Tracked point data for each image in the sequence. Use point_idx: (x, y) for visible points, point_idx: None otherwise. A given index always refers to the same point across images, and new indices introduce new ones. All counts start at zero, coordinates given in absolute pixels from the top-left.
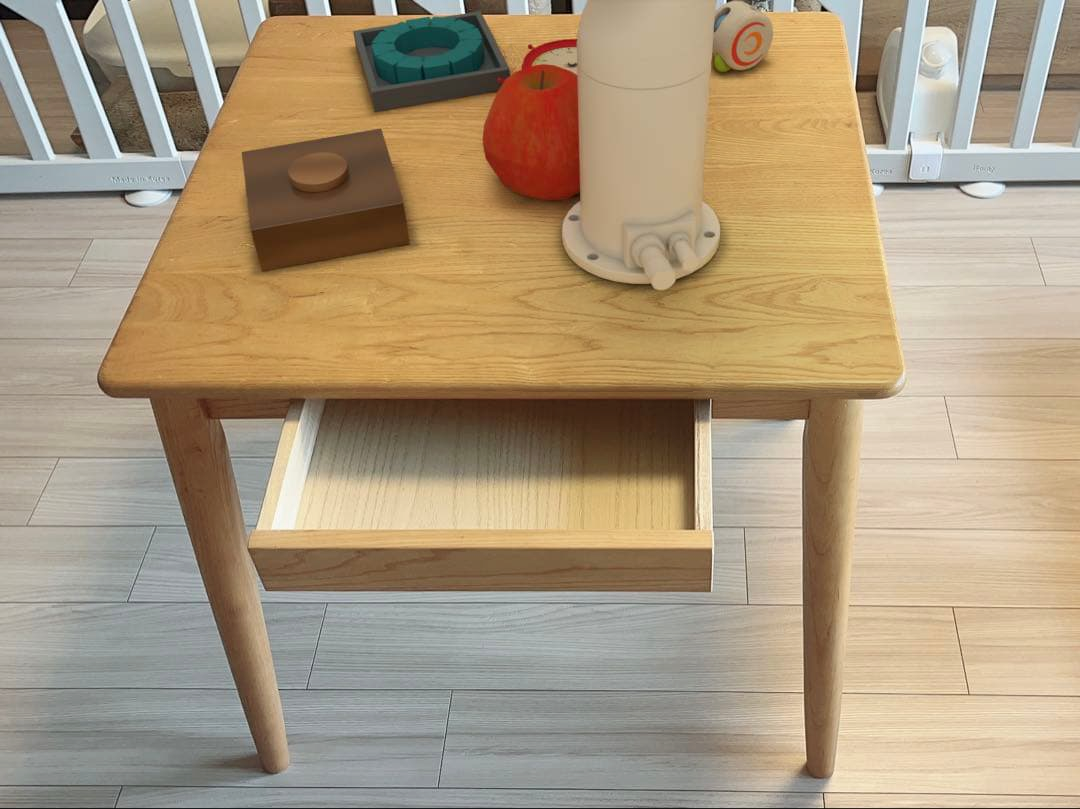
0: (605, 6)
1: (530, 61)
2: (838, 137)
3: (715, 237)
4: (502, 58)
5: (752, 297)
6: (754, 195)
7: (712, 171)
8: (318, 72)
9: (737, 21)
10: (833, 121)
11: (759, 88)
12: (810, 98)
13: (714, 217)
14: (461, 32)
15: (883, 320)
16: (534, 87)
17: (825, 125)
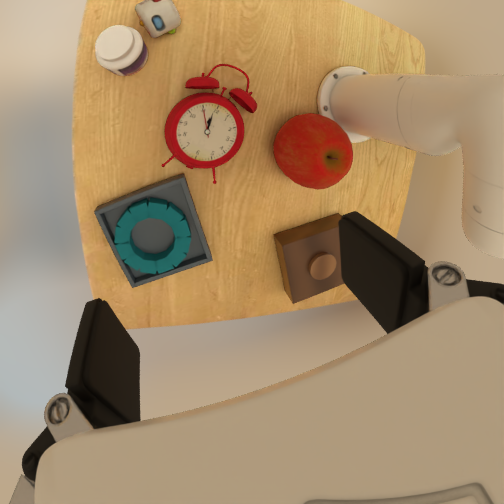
0: (459, 146)
1: (199, 162)
2: None
3: (366, 72)
4: (167, 184)
5: (390, 69)
6: (322, 39)
7: (297, 53)
8: (163, 293)
9: (174, 11)
10: None
11: (197, 10)
12: None
13: (353, 67)
14: (137, 219)
15: (402, 30)
16: (327, 162)
17: None
